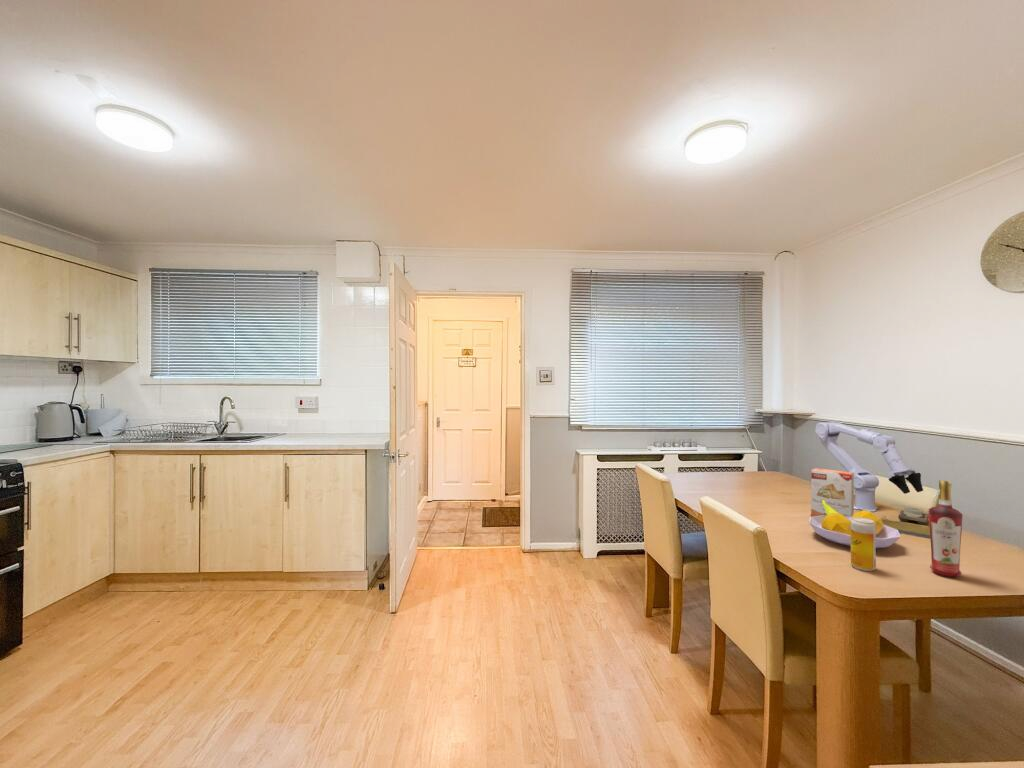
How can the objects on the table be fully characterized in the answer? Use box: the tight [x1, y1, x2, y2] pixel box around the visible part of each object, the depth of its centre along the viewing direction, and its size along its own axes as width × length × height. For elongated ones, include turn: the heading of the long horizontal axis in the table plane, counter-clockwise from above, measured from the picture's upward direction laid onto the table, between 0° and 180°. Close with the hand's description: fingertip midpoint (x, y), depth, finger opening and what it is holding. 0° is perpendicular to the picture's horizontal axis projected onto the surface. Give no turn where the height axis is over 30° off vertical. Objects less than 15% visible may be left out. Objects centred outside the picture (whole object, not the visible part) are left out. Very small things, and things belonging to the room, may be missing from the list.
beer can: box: [850, 518, 877, 572], centre depth 137 cm, size 6×6×15 cm
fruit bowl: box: [808, 500, 901, 549], centre depth 161 cm, size 28×27×11 cm
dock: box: [880, 514, 931, 540], centre depth 173 cm, size 16×18×4 cm
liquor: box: [928, 480, 963, 578], centre depth 132 cm, size 7×7×28 cm
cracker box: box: [810, 467, 855, 517], centre depth 185 cm, size 14×6×21 cm, turn 45°
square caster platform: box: [898, 506, 929, 526], centre depth 183 cm, size 10×9×5 cm
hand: (913, 492), depth 184 cm, fingers open, 7 cm apart
